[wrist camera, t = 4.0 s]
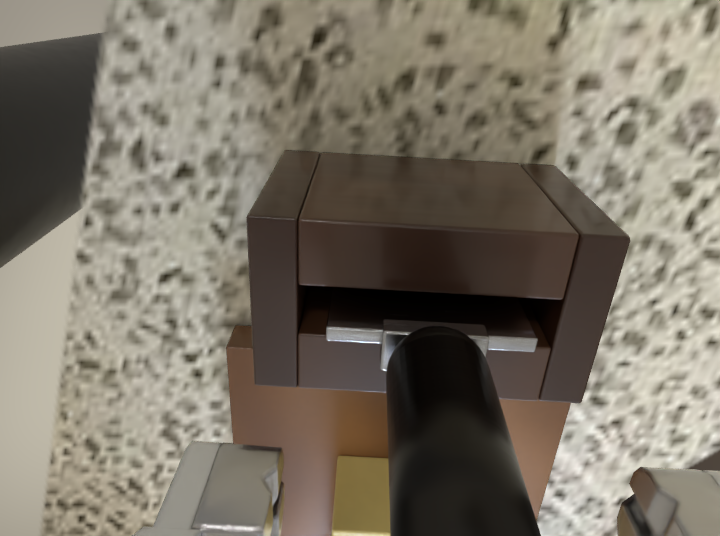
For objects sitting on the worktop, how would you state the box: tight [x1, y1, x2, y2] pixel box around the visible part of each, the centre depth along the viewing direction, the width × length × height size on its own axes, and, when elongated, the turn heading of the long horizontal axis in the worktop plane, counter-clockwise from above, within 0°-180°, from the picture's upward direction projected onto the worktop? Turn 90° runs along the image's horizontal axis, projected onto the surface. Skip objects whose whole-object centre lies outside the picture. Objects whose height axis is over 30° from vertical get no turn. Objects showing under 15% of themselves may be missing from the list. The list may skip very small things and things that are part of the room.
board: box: [226, 325, 571, 536], centre depth 24 cm, size 13×18×2 cm
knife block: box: [247, 150, 630, 403], centre depth 16 cm, size 9×5×6 cm, turn 87°
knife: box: [326, 287, 541, 536], centre depth 12 cm, size 5×2×16 cm, turn 87°
